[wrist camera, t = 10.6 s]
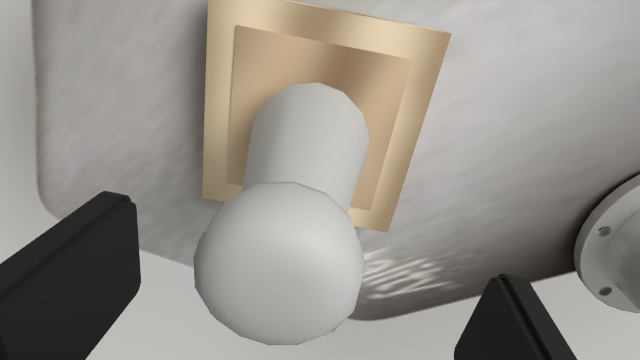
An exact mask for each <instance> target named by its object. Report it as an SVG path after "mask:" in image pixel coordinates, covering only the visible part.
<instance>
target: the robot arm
mask: <svg viewBox="0 0 640 360" xmlns="http://www.w3.org/2000/svg"><path fill="white" fill-rule="evenodd" d="M139 259H140V258H139V242H138V226H137V210H136V205H135V203H133V202H131V199H130V198H129V196H127V195H122V194H118V193H113V192H108V191H103V192H101V193H99V194H98V195H97V196H95V197H94V198H92V199H91V200H90V201H88V202H87V203H85V204H84V205H83V206H81V207H80V208H78V209H77V210H76V211H74V212H73V213H71V214H70V215H69V216H67V217H66V218H64V219H63V220H61V221H60V222H59V223H57V224H56V225H55V226H53V227H52V228H50V229H49V230H47V231H46V232H45V233H43V234H42V235H40V236H39V237H38V238H36V239H35V240H34V241H32V242H31V243H29V244H28V245H26V246H25V247H24V248H22V249H21V250H19V251H18V252H16V253H15V254H14V255H12V256H11V257H9V258H8V259H7V260H5V261H4V262H2V263H1V264H0V360H85V359H86V358H87V357H88V355H89V354H90V352H91V351H92V350H93V349H94V348H95V346H96V345H97V344H98V343H99V341H100V340H101V339H102V337H103V336H104V335H105V334H106V332H107V331H108V330H109V328H110V327H111V326H112V325H113V323H114V322H115V321H116V319H117V318H118V317H119V316H120V314H121V313H122V312H123V311H124V309H125V308H126V307H127V305H128V304H129V303H130V302H131V300H132V299H133V298H134V297H135V295H136V294H137V292H138V290H139V287H140V283H141V274H140V260H139ZM574 265H575V268H576V271H577V274H578V276H579V278H580V279H581V281H582V282H583V283H584V285H585V286H586V287H587V288H588V289H589V291H590V292H591V293H592V294H593V295H594V296H595V297H596V298H597V299H599V300H600V301H602V302H604V303H605V304H607V305H609V306H611V307H614V308H617V309H620V310H623V311H629V312H634V313H640V174H639V175H637V176H636V177H634V178H632V179H631V180H629V181H627V182H625V183H624V184H622V185H621V186H619V187H618V188H617V189H616V190H614V191H613V192H612V193H611V194H609V195H608V196H607V197H606V198H604V200H603V201H602V202H601V203H600V204H599V205H598V206H597V207H596V208H595V209H594V210H593V211H592V212H591V214H590V215H589V217H588V218H587V220H586V221H585V223H584V224H583V226H582V228H581V230H580V232H579V235H578V237H577V239H576V244H575V249H574ZM454 360H577V359H576V357H575V355H574V354H573V352H572V351H571V349H570V347H569V346H568V344H567V342H566V341H565V339H564V338H563V336H562V334H561V333H560V331H559V330H558V328H557V326H556V325H555V323H554V322H553V320H552V318H551V317H550V315H549V313H548V312H547V310H546V309H545V307H544V305H543V304H542V302H541V300H540V299H539V297H538V296H537V294H536V292H535V291H534V289H533V287H532V286H531V284H530V283H529V281H528V280H527V279H525V278H522V277H517V276H512V275H507V274H500V275H498V276H497V278H492V279H490V281H489V282H488V284H487V286H486V288H485V290H484V292H483V294H482V296H481V298H480V300H479V302H478V304H477V306H476V308H475V310H474V312H473V314H472V316H471V318H470V320H469V321H468V323H467V325H466V328H465V329H464V331H463V333H462V335H461V337H460V339H459V341H458V343H457V345H456V347H455V351H454Z"/></svg>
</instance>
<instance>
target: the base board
mask: <svg viewBox="0 0 640 360" xmlns="http://www.w3.org/2000/svg"><path fill="white" fill-rule="evenodd" d="M450 37H451V34H450V33H447V32H444V31H440V30H437V29H432V28H427V27H422V26H417V25H412V24H406V23H401V22H396V21H391V20H386V19H381V18H376V17H371V16H366V15H361V14H356V13H351V12H346V11H341V10H336V9H331V8H326V7H321V6H316V5H311V4H306V3H301V2H296V1H291V0H208V16H207V48H206V81H205V113H204V146H203V178H202V198H203V199H208V200H213V201H219V202H225V201H227V200H229V199H231V198H232V197H234V196H236V195H238V194H240V193H241V192H242V186H243V180H244V174H245V168H246V162H247V156H248V150H249V144H250V138H251V132H252V126H253V121H254V120H255V118H256V116H257V115H258V113H259V111H260V110H261V108H262V107H263V105H264V103H265V102H266V100H267V99H268V98H270V97H272V96H273V95H275V94H276V93H278V92H280V91H281V90H283V89H284V88H286V87H288V86H289V85H292V84H303V83H317V82H319V83H322V84H324V85H327V86H329V87H332V88H334V89H337V90H339V91H342V92H344V93H345V94H346V95H347V97H348V98H349V99H350V100H351V101H352V102H353V103H354V104H355V105H356V106H357V108H358V109H359V110H360V111H361V112H362V113H363V116H364V120H365V123H366V127H367V131H368V134H369V138H370V141H369V145H368V150H367V154H366V159H365V163H364V166H363V169H362V172H361V174H360V177H359V180H358V183H357V186H356V188H355V191H354V194H353V197H352V200H351V203H350V207H349V210H348V213H347V214H348V215H349V216H350V218H351V219H352V221H353V224H354V226H355V227H360V228H366V229H371V230H376V231H382V232H387V233H388V230H389V227H390V223H391V220H392V217H393V214H394V211H395V208H396V205H397V202H398V199H399V195H400V192H401V189H402V186H403V183H404V180H405V177H406V174H407V171H408V167H409V164H410V161H411V158H412V155H413V152H414V149H415V146H416V142H417V139H418V136H419V133H420V130H421V127H422V124H423V121H424V118H425V114H426V111H427V108H428V105H429V102H430V99H431V96H432V93H433V90H434V86H435V83H436V80H437V77H438V74H439V71H440V68H441V65H442V62H443V58H444V55H445V52H446V49H447V46H448V43H449V40H450Z"/></svg>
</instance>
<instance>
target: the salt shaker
mask: <svg viewBox="0 0 640 360" xmlns="http://www.w3.org/2000/svg"><path fill="white" fill-rule="evenodd" d="M369 141H370V138H369V134H368V131H367V127H366V123H365V120H364V116H363V113H362V112H361V111H360V110H359V109H358V108H357V106H356V105H355V104H354V103H353V102H352V101H351V100H350V99H349V98H348V97H347V95H346V94H345V93H344V92H342V91H339V90H337V89H334V88H332V87H329V86H327V85H324V84H322V83H319V82H317V83H303V84H292V85H289V86H288V87H286V88H284V89H283V90H281V91H280V92H278V93H276V94H275V95H273V96H272V97H270V98H268V99H267V100H266V102H265V103H264V105H263V107H262V108H261V110H260V111H259V113H258V115H257V116H256V118H255V120H254V121H253V126H252V132H251V138H250V144H249V150H248V156H247V162H246V168H245V174H244V180H243V186H242V192H241V193H240V194H238V195H236V196H234V197H232V198H231V199H229V200H227V201H225V202H224V204H223V205H222V207H221V208H220V209H219V211H218V212H217V213H216V215H215V216H214V218H213V219H212V221H211V222H210V224H209V226H208V227H207V229H206V230H205V232H204V233H203V235H202V236H201V238H200V240H199V242H198V245H197V249H196V252H195V255H194V277H195V288H196V290H197V291H198V293H199V295H200V296H201V298H202V300H203V301H204V303H205V305H206V307H207V308H208V310H209V312H210V313H211V314H212V315H213V316H214V317H215V318H216V319H217V320H218V321H220V322H221V323H222V324H224V325H225V326H227V327H228V328H229V329H231V330H232V331H234V332H235V333H236V334H238V335H239V336H242V337H245V338H248V339H251V340H254V341H258V342H260V343H264V344H267V345H298V344H301V343H304V342H307V341H310V340H313V339H315V338H318V337H321V336H324V335H326V334H329V333H331V332H333V331H334V330H335V329H336V328H337V327H338V326H339V325H340V324H341V323H342V322H343V321H344V320H345V319H346V318H347V317H348V316H349V315H350V314H351V313H352V312H353V311H354V309H355V305H356V301H357V298H358V294H359V290H360V286H361V282H362V277H363V271H364V266H365V263H364V257H363V250H362V247H361V244H360V241H359V238H358V235H357V232H356V229H355V227H354V224H353V221H352V219H351V218H350V216H349V215H348V214H347V213H348V210H349V207H350V203H351V200H352V197H353V194H354V191H355V188H356V186H357V183H358V180H359V177H360V174H361V172H362V169H363V166H364V163H365V159H366V154H367V150H368V145H369Z"/></svg>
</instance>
